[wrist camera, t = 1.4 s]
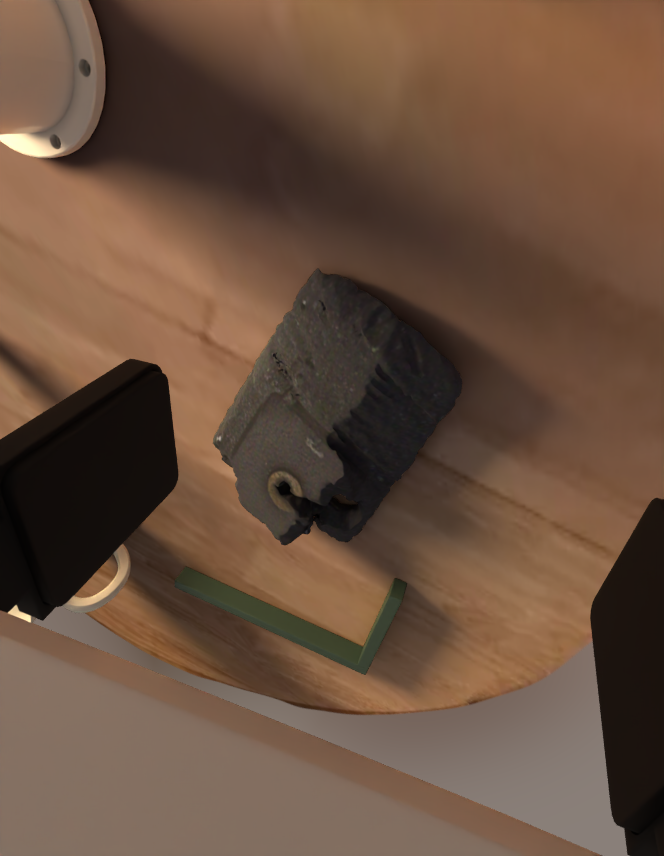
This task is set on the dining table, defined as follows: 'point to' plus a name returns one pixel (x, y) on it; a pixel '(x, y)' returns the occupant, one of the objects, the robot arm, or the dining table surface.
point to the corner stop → (296, 619)
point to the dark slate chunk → (333, 411)
